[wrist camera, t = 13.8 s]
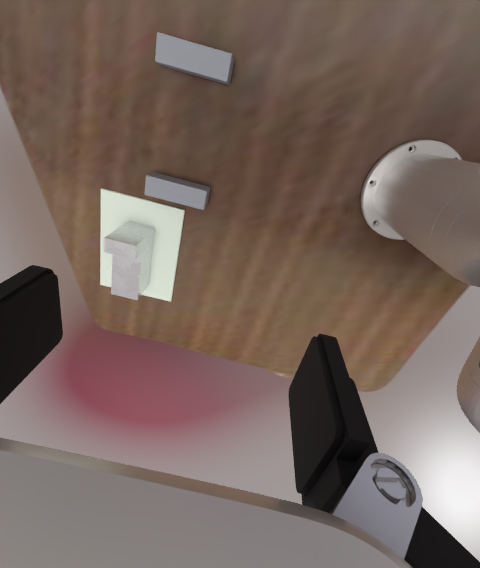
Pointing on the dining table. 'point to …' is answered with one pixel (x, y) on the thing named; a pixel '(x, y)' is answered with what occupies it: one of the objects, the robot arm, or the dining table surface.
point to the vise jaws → (199, 64)
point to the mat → (166, 237)
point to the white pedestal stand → (130, 258)
